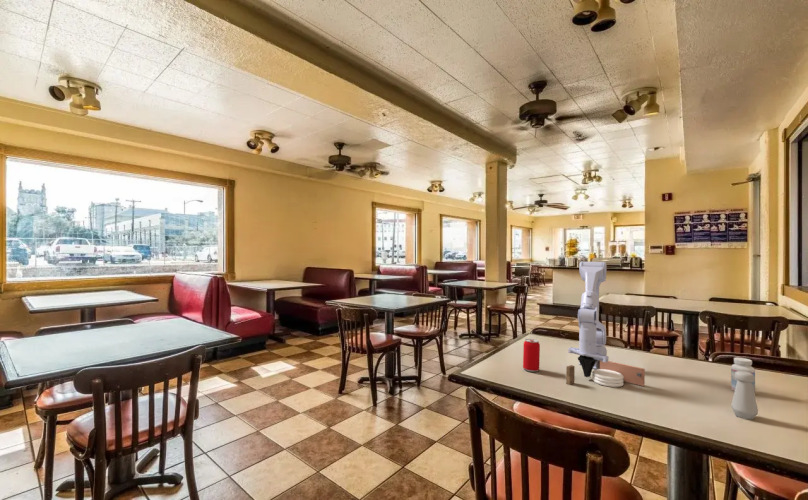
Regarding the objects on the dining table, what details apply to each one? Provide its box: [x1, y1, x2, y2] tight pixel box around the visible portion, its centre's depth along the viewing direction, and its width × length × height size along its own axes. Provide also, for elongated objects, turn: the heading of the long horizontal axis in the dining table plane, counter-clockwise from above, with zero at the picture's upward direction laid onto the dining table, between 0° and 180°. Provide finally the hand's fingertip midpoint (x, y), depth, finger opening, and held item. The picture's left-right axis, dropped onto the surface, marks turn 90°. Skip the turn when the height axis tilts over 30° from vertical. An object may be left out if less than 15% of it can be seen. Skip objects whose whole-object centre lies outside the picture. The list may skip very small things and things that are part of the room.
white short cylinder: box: [591, 369, 625, 388], centre depth 131 cm, size 10×10×4 cm
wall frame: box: [565, 360, 600, 386], centre depth 135 cm, size 22×1×7 cm, turn 121°
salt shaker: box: [730, 371, 759, 421], centre depth 105 cm, size 6×6×13 cm
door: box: [600, 360, 646, 387], centre depth 133 cm, size 15×2×6 cm, turn 42°
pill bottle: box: [730, 357, 756, 394], centre depth 124 cm, size 6×6×11 cm
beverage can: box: [522, 338, 541, 373], centre depth 144 cm, size 6×6×12 cm
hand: (587, 376), depth 134 cm, fingers closed
